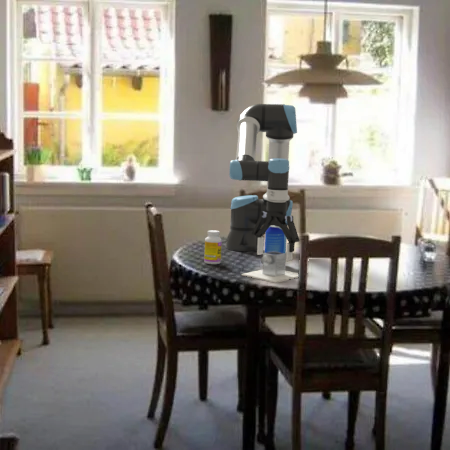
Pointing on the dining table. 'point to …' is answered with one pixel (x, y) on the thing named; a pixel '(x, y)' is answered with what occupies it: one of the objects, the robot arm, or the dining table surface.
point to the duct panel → (269, 278)
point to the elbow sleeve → (273, 263)
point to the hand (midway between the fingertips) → (274, 257)
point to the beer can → (275, 239)
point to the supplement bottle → (213, 248)
